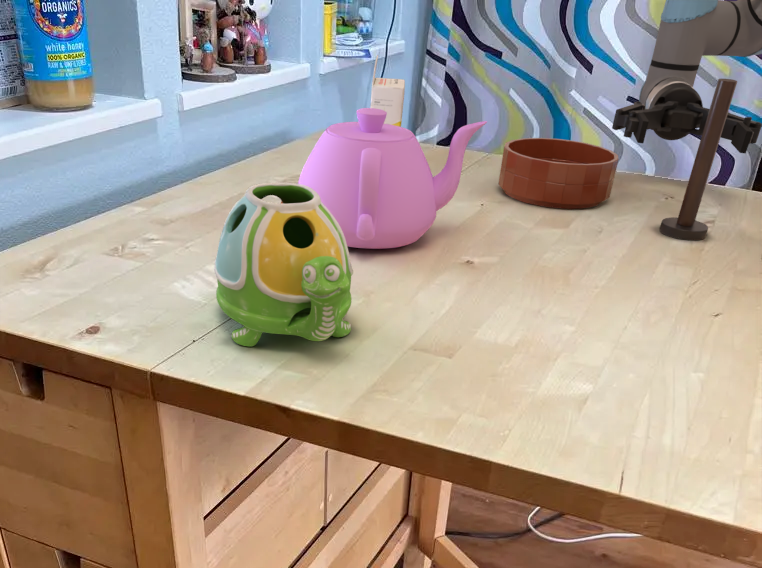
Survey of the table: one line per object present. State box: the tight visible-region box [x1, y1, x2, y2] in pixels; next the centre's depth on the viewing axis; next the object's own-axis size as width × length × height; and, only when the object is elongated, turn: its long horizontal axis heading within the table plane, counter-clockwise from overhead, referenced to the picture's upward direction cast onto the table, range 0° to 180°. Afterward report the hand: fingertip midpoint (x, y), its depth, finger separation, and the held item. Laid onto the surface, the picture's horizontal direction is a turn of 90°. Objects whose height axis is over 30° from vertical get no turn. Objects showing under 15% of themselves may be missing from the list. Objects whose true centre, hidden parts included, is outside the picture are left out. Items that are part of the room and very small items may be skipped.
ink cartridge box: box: [369, 54, 406, 127], centre depth 123 cm, size 9×5×15 cm, turn 178°
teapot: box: [297, 107, 488, 250], centre depth 95 cm, size 22×22×14 cm
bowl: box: [498, 137, 620, 210], centre depth 118 cm, size 16×16×6 cm
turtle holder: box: [213, 182, 354, 348], centre depth 71 cm, size 12×18×12 cm
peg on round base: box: [658, 78, 738, 241], centre depth 102 cm, size 6×6×18 cm
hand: (694, 137), depth 109 cm, fingers open, 13 cm apart
